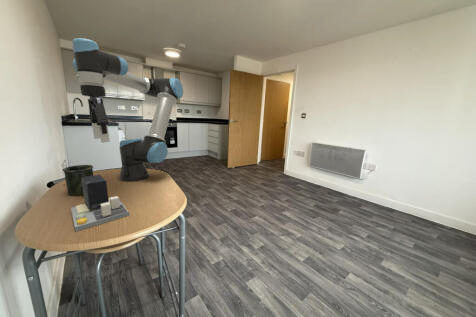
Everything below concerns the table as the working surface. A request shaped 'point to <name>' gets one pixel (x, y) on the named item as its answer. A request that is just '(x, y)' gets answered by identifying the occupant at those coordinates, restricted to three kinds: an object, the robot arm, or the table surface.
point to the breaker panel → (95, 216)
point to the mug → (76, 178)
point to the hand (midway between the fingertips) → (101, 140)
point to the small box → (94, 191)
